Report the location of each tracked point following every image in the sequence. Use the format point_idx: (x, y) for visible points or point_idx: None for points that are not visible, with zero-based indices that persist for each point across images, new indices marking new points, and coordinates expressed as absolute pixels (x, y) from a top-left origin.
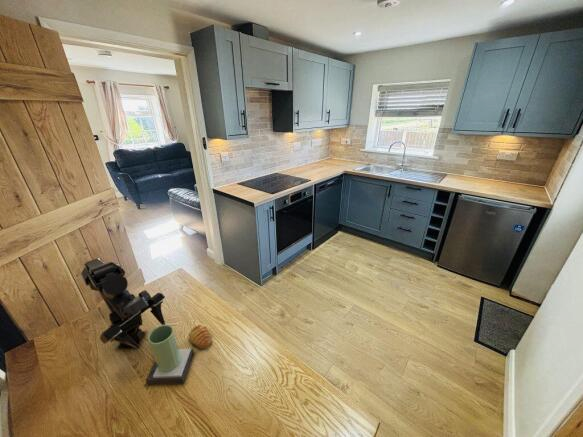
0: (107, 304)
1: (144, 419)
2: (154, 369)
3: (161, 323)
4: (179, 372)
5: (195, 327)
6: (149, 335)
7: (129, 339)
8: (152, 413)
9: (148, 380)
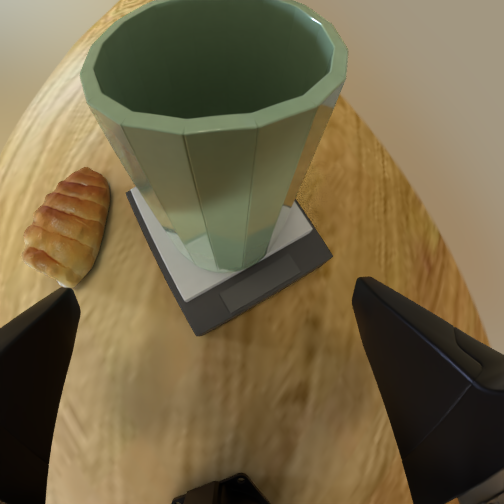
0: None
1: (379, 176)
2: (284, 261)
3: (68, 332)
4: None
5: (36, 260)
6: (302, 99)
7: (453, 340)
8: (359, 168)
9: (325, 247)
